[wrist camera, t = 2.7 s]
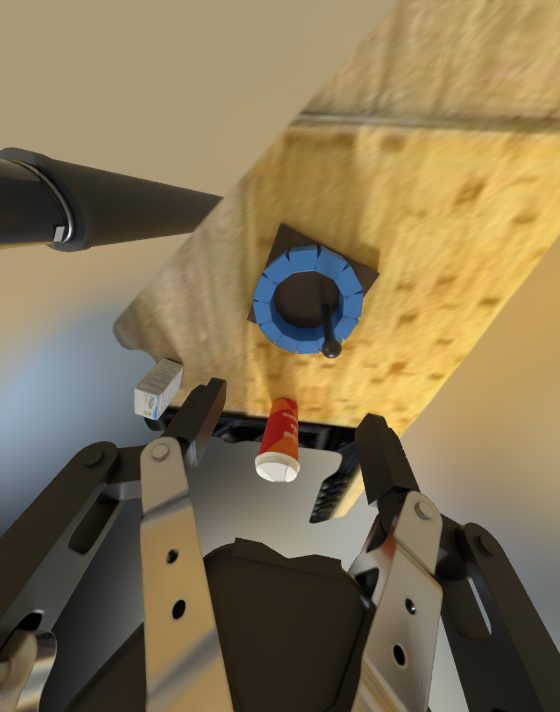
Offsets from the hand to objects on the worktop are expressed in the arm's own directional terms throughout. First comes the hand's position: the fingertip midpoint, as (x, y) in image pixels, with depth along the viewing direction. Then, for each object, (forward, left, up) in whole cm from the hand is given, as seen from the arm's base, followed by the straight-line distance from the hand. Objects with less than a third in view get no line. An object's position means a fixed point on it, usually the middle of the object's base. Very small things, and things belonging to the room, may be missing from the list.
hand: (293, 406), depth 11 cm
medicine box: (-17, -28, -22) cm, 40 cm away
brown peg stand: (+1, -1, -22) cm, 22 cm away
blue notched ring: (+1, -1, -21) cm, 21 cm away
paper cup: (+8, -25, -22) cm, 34 cm away
